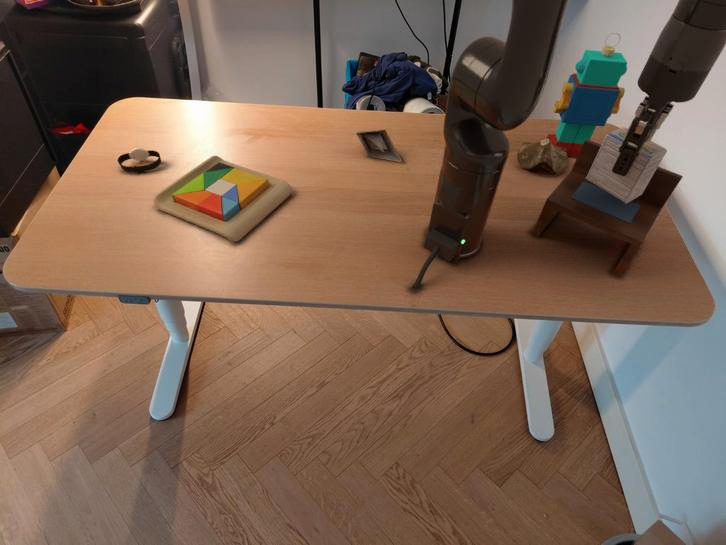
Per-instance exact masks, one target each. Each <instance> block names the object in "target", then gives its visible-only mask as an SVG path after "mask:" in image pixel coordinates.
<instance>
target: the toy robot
mask: <svg viewBox="0 0 726 545" xmlns="http://www.w3.org/2000/svg"><path fill="white" fill-rule="evenodd" d="M615 34H616V35H618V36H619V38H621V35H620V33H618V32H612V33H610V34H609V35H608V36H607V37H606V38H605V39H604V46H603V47H602V49H601V50H595V49H594V50H593V49H584V52H583V55H582V57H581V59H580V60H578V61H577V62H576V64H575V71H576V72H575V73H574V72H573V73H572V74H570V75H569V78H568V80H567V81H566V82H564V83H563V85H562V89H561V93H562V94H561V97H560V98H559V100H555V101H554V103H553V105H554V108H553V109H552V113H553V114H558V115H559V117H560V121H559V124H558V125H557V129H556V131H555V133H549V134H547V136H546V139H549V140H550V141H551V142H552V144H553V145H556V146H558V147H562V148H566V149H567V151H566V153H567V156H568V157H574V158H577V157H578V155H579V152H580V150H581V148H582V146H583V143H584V141H585V140H586V139H587V140H590V141H591V139H592V136H593V134H594V133H595V129H596V127H605V125H606V124H607V122H608V120H609V118H611V116H612V115H613V114H614V115H617V114H618V113H619V110H620V104H621V100H622V99H623V97H624V95H625V91H626V89H625V87H619V85H618V84H619V83H620V80H621V78H622V77H623V76H624V75H625V74H626V73H627V71H628V61H627V59H626V58H625V56H624V55H623V54H622V52H617V51H616V48H615V47H617V46H618V44H619V43H620V42H621V39H619V40H618V42H617V43H616V44H615V45H613V46H611V45H607V43H606V42H607V39H608V38H609V37H610V36H611V35H615Z"/></svg>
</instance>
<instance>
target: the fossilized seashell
mask: <svg viewBox="0 0 726 545" xmlns="http://www.w3.org/2000/svg"><path fill="white" fill-rule="evenodd" d="M566 151H567V149H566V148H562V147H558V146H556V145H553V144H552V142H551V141H550V140H549V139H547V138H543V139H542V140H540V141H537V142H529V141H523V142H522V146H521V147H520V148H519V149H518V151H517V153H516V159H517V161H518V164H519V166H521V168H523V169H525V170H532V169H537V168H540V167H542V168H543V169H545V170H546V171H548V172H549V173H551V174H555V175H558V174H561V173H563V172H564V171H565V170H566V169H567V168H568V166H569V163H570V161H569V156H567V153H566Z"/></svg>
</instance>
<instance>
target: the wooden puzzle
mask: <svg viewBox="0 0 726 545" xmlns="http://www.w3.org/2000/svg"><path fill="white" fill-rule="evenodd" d="M291 194H292V186H291V184H290V183H289V182H287V180H284V179H281V178H278V177H274V176H272V175H268V174H266V173H263V172H261V171H260V172H259V171H256V170H254V169H251V168H247V167H244V166H241V165H238V164H235V163H232V162H230V161H226V160H225V159H223V158H222V157H221V156H219V155H212V156H210V157H209V158H207V159H206V160H204V161H202V162H201V163H199V164H198V165H197V166H195V167H194V168H193V169H191V170H190V171H188V172H187V173H185V174H183V175H182V176H181V177H179V178H178V179H176V180H175V181H174V182H172V183H171V184H170V185H168V186H166V187H165V188H163V189H162V190H161V191H159V192H157V193H156V194H155V195H154V197H153V203H154V206H155V208H157V209H158V210H160V211H161V212H163V213H167V214H169V215H172V216H174V217H176V218H178V219H181V220H183V221H186V222H188V223H191V224H194V225H196V226H199V227H201V228H203V229H206V230H209V231H211V232H213V233H216V234H217V235H220V236H223V237H224V238H226V239H227V240H228V241H231V242H239V241H241V239H242V238H243V237H245V236H246V235H247V234H248V233H250V232H251V231H252V230H253V229H254V228H255V227H257V225H259V224H260V223H261V222H262V221H263V220H265V219H266V217H267V216H269V215H270V214H271V213H272V212H273V211H275V209H276V208H278V207H279V206H280V205H281V204H282V203H283V202H284V201H286V200H287V199H288V197H290V196H291Z"/></svg>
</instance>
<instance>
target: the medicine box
mask: <svg viewBox="0 0 726 545" xmlns="http://www.w3.org/2000/svg"><path fill="white" fill-rule="evenodd" d="M627 130H628V128H626V127H625V126H623V127H620V128H618V129H615V130H612V131H610V132H608V133H607V134H606V135H605V137H604V139H603V141H602V142H601V148H600V150H599V152H598V154H597V156H596V158H595V160H594V162H593V165H592V167H591V169H590V171H589V173H588V175H587V177H586V179H587V180H589V181H590V182H592V183H594V184H595V185H597V186H599V187H600V188H602V189H604V190H605V191H607V192H609V193H610V194H612V195H613V196H615V197H617V198H618V199H620V200H622V201H623V202H625V203H628V202H630V201H632V200H633V199H635V198H637V197H638V196H640V195H642V193H643V192H644V190H645V188H646V186H647V185H648V183H649V181H650V179H651V178H652V176H653V174H654V173H655V171H656V169H657V167H660V164H661V162H662V161H663V159H664V157H665V156H666V154H667V152H668V150H667V148H666V147H664V146H661V145H660V144H657V143H655V142H654V141H652V140H651V141H649V142H646V143H645V144H644V146H643V148H642V149H641V151H640V152H641V153H640V155H638V157H636V159H635V161H634V162H633V164H632V166H631V168H630V170H629V172H628V173H627V175H626V176H621V175H618V174H616V173H613V172H612V168H613V166H614V164H615V163H616V161H617V159H618V157H619V155H620V153H619V148H620V146H621V145H622V143H623V141H624V139H625V137H626V135H627ZM629 145H632V146H635V147H637V145H635V144H633V143H630V142H629Z"/></svg>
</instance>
